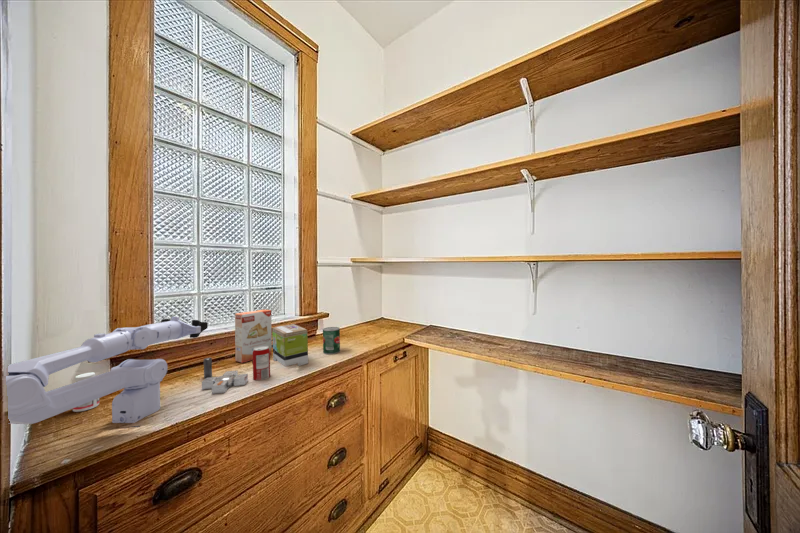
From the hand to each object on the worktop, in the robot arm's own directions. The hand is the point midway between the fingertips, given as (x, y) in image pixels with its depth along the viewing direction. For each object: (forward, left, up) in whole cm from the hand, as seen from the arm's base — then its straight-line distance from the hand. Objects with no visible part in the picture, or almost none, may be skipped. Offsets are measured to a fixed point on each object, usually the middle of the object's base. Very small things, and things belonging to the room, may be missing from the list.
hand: (195, 325), depth 98 cm
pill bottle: (-15, +22, -21) cm, 34 cm away
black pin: (+4, -1, -21) cm, 21 cm away
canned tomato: (+37, -37, -21) cm, 57 cm away
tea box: (+23, -23, -21) cm, 39 cm away
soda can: (+4, -21, -21) cm, 30 cm away
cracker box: (+29, -4, -21) cm, 36 cm away
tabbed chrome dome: (-3, -12, -20) cm, 23 cm away
